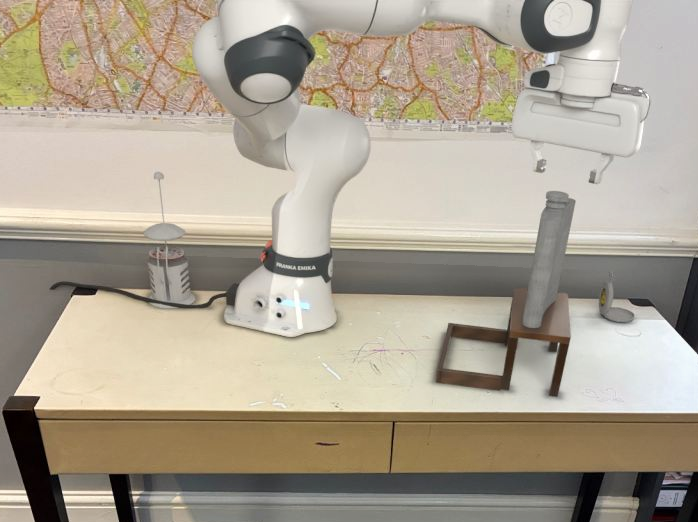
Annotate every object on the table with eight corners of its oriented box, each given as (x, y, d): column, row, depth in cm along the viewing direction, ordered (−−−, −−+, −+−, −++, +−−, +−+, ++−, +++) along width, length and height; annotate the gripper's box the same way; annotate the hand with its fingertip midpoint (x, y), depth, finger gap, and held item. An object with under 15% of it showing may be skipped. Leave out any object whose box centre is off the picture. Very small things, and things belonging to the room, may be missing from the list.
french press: (198, 290, 167) (187, 166, 152) (192, 312, 158) (180, 182, 143) (151, 289, 166) (135, 164, 151) (142, 311, 157) (125, 180, 142)
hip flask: (538, 329, 132) (562, 207, 120) (515, 324, 133) (536, 203, 121) (557, 297, 144) (580, 183, 132) (535, 293, 145) (556, 180, 133)
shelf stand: (435, 382, 139) (442, 323, 132) (447, 334, 155) (453, 279, 149) (557, 398, 136) (570, 338, 130) (556, 347, 153) (567, 292, 146)
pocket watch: (640, 320, 166) (652, 274, 160) (613, 328, 162) (625, 281, 156) (610, 306, 171) (621, 261, 165) (584, 313, 167) (594, 267, 161)
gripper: (660, 86, 114) (635, 186, 123) (531, 68, 123) (516, 162, 131) (647, 91, 110) (622, 193, 118) (514, 72, 118) (500, 169, 127)
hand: (566, 177), depth 125 cm, fingers open, 8 cm apart
